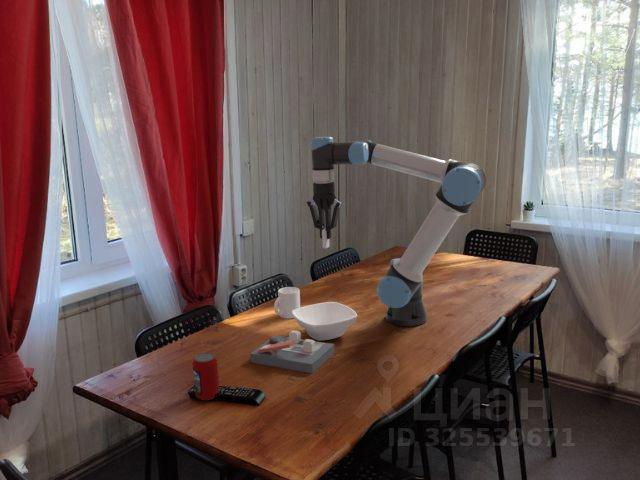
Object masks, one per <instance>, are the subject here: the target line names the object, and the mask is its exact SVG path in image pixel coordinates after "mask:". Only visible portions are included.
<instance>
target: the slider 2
mask: <svg viewBox="0 0 640 480" xmlns="http://www.w3.org/2000/svg"><path fill="white" fill-rule="evenodd" d="M304 340H305V341H304V342H303V351H304V352H310V353H312V352H313V351H315V341H316V340H315V339H308V338H306V339H304Z"/></svg>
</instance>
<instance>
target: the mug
mask: <svg viewBox="0 0 640 480" xmlns="http://www.w3.org/2000/svg"><path fill="white" fill-rule="evenodd" d="M300 292H301V291H300V288H298V287H295V286H285V287H282V288H279V289H278V290H277V296H278V297H277V298H276V299H275V301H274V304H273V309H274V312H275V314H276V315H277V316H279V317H281V319H285V320H287V319H288V320H291V319H292V318H293V319H295V318H294V317H293V316H292V310H295V309H297V308H300V307H301V296H300V295H301V293H300Z"/></svg>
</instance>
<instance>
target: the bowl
mask: <svg viewBox="0 0 640 480" xmlns="http://www.w3.org/2000/svg"><path fill="white" fill-rule="evenodd" d="M292 316H293V317H294V318H293V319H294V320H295V321H296V323H297V324H298V326H300V327H301V328H302V329H304V330H305V333H307V334H308V336H309V337H311V338H312V339H313V340H315V341H317V342H322V341H328V340H333V339H334V340H335V339H337V338H339V337H341V336H343V335H344V334H345V332H346V331H347V330H348V327H351V326H352V325H354V323H355V321H356V320H357V319H358V313H357V312H356V311H355V310H354V309H352V308H351V307H350V306H347V305H345V304H342V303H340V302H336V301H327V302H320V303H314V304H309V305H304V306H302V307H301V306H300V308H297V309H295V310H292Z"/></svg>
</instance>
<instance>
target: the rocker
mask: <svg viewBox="0 0 640 480" xmlns="http://www.w3.org/2000/svg"><path fill="white" fill-rule="evenodd" d="M294 344H295V341H294V340H293V341H288V342H282V343H277V344H272V345H271V344H270V345H265V346H263V347H262V348H260V349H259V350H258V352H259V353H263V352H268V351H274V350H279V349H285V348H290V347H291V346H292V345H294Z"/></svg>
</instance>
